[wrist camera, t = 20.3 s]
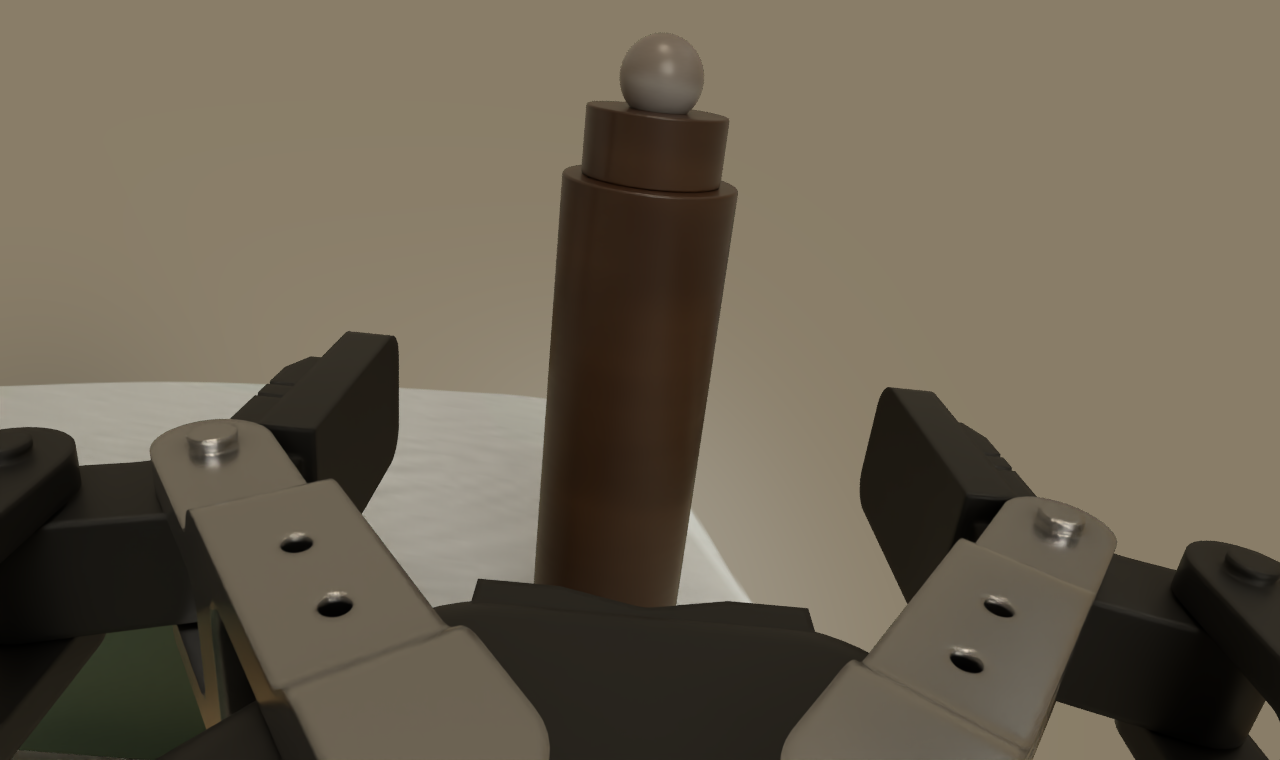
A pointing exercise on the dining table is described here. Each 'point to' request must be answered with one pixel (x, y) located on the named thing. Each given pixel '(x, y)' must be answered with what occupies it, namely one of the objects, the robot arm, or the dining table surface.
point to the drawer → (124, 701)
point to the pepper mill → (634, 331)
